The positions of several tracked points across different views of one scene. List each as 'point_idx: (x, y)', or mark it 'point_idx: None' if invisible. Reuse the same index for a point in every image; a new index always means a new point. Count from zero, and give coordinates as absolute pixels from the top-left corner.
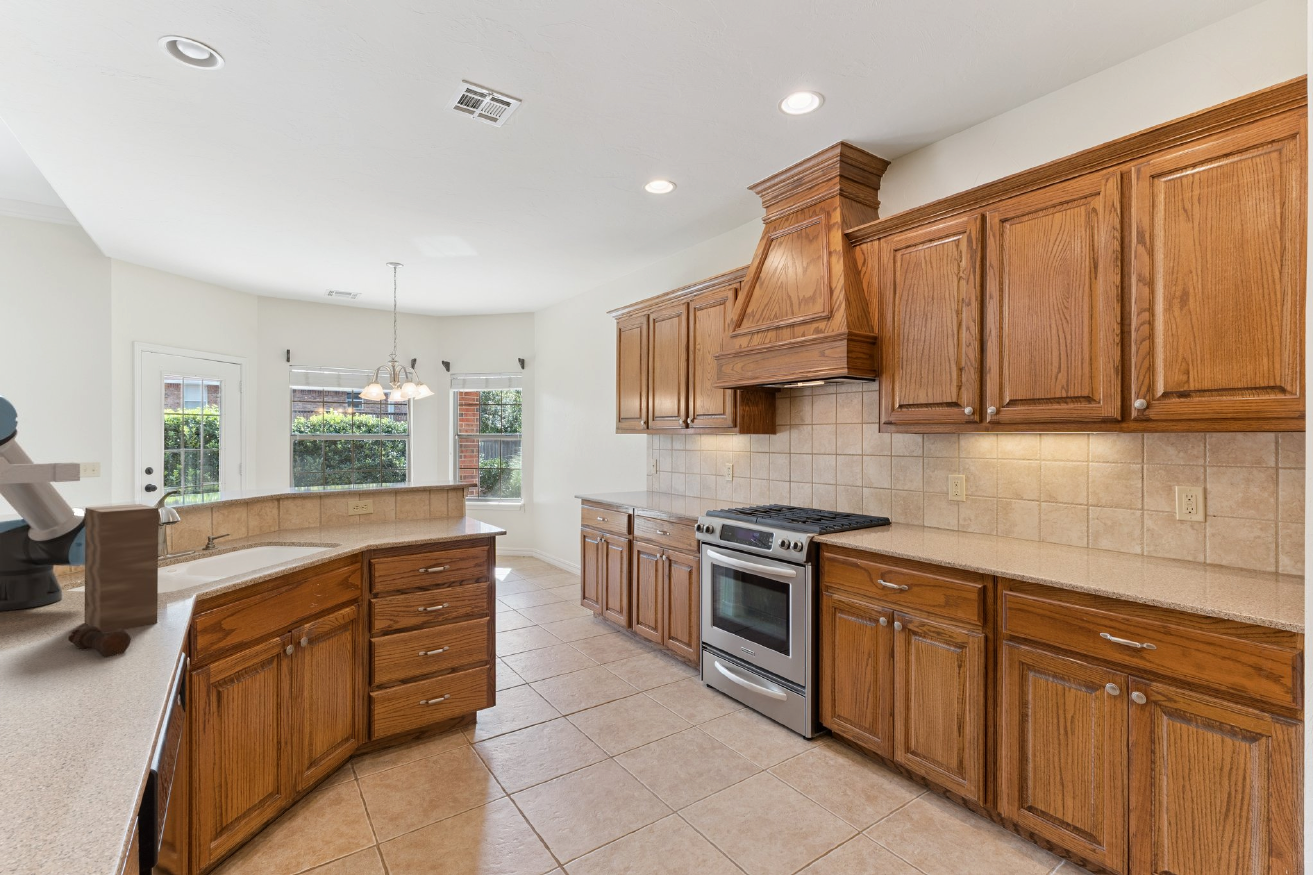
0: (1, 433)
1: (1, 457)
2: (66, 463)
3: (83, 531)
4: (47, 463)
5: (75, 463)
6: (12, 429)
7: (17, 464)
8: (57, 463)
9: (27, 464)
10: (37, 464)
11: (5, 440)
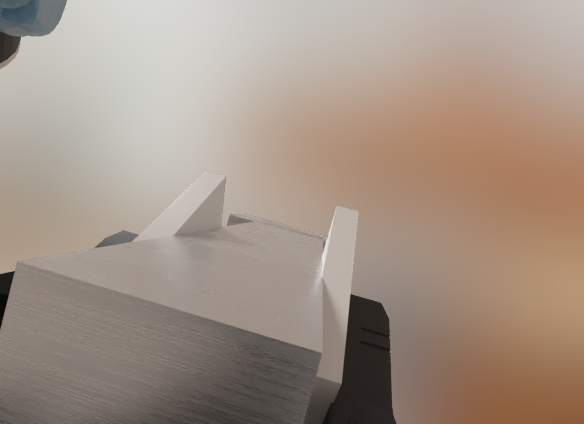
0: (51, 5)
1: (357, 217)
2: (305, 232)
3: None
4: (256, 222)
5: (325, 236)
6: (65, 3)
7: (267, 235)
8: (284, 228)
9: (301, 241)
10: (322, 244)
11: (13, 43)
